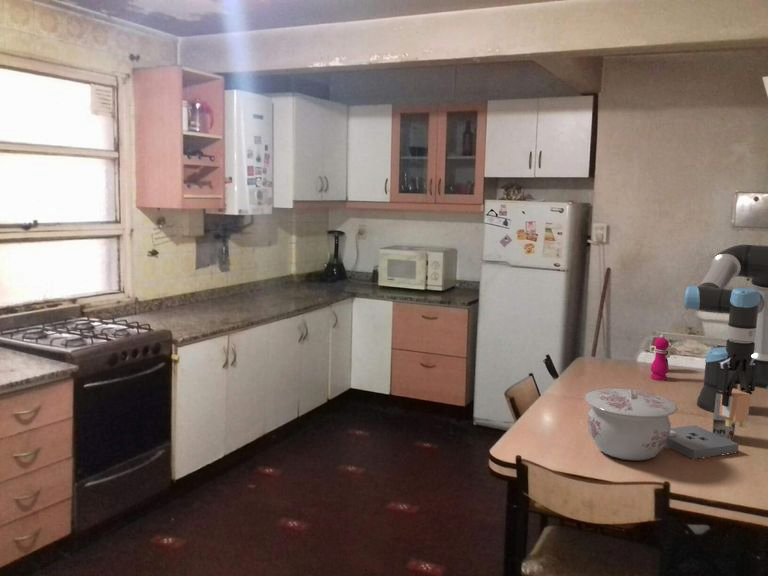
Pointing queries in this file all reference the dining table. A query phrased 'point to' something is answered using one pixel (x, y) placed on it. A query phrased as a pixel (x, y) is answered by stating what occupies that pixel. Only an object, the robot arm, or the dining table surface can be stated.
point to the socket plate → (699, 442)
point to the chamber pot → (629, 422)
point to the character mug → (666, 353)
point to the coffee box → (721, 422)
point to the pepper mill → (660, 359)
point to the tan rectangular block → (737, 408)
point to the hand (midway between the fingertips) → (733, 414)
